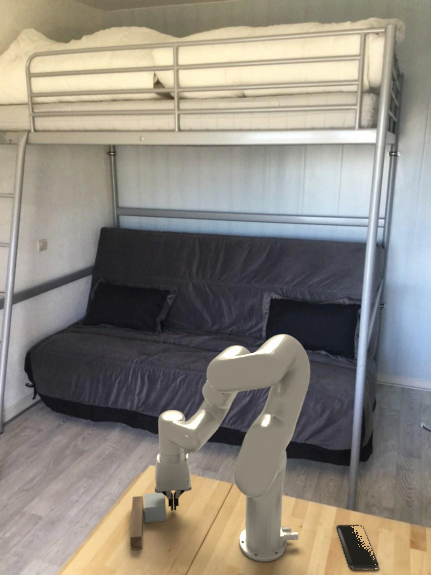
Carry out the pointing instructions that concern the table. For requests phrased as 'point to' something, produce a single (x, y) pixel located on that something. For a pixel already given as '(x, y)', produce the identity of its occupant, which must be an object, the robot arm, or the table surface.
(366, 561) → the phone
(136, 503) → the brown wooden bar
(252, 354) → the robot arm
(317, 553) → the table surface
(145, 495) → the block
